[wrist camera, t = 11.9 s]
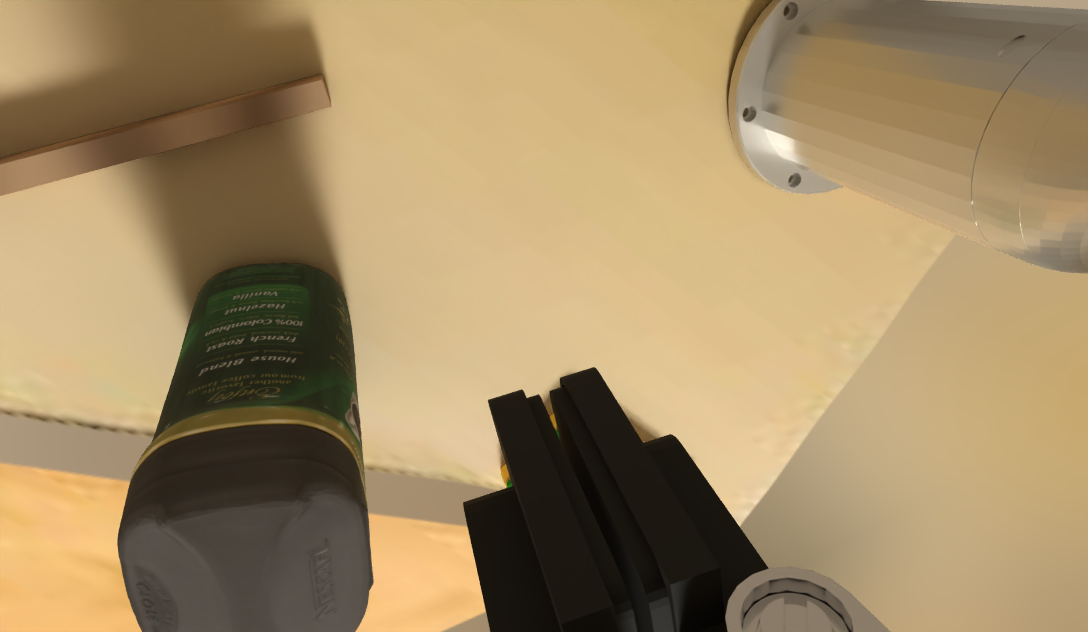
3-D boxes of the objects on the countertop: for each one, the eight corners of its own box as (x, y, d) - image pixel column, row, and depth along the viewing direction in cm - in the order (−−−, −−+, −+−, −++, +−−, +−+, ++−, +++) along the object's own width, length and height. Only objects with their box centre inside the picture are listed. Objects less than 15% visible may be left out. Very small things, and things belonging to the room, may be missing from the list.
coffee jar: (181, 262, 35) (67, 513, 19) (345, 252, 37) (368, 469, 21) (213, 422, 39) (143, 738, 23) (358, 405, 41) (386, 682, 25)
